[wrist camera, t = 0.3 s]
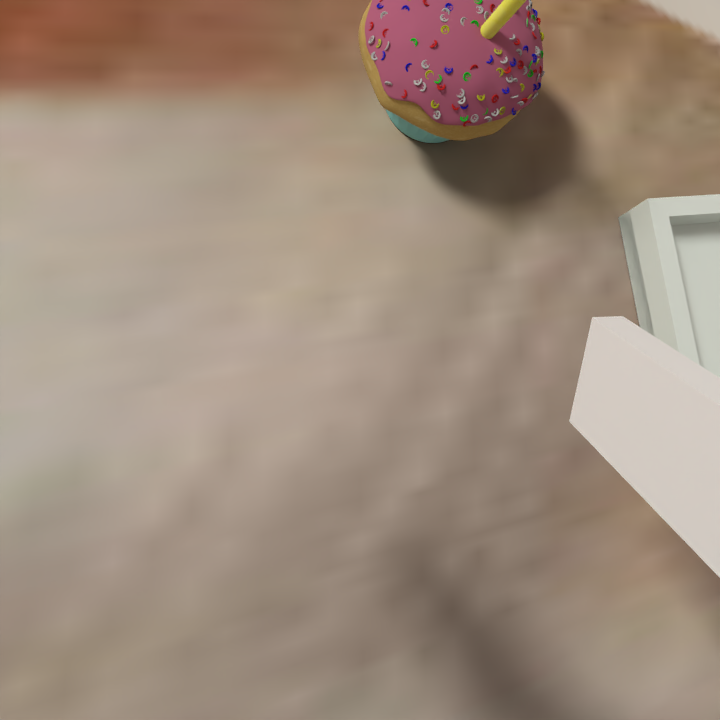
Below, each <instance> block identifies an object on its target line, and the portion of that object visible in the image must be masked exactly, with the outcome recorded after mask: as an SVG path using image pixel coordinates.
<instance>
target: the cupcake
mask: <svg viewBox="0 0 720 720" xmlns="http://www.w3.org/2000/svg"><path fill="white" fill-rule="evenodd" d="M529 1H530V3H529ZM529 1H528V0H371V2H370V3H369V5H368V7H367V9H366V10H365V12H364V14H363V17H362V19H361V23H360V27H359V46H360V51H361V56H362V60H363V63H364V66H365V69H366V72H367V74H368V77H369V79H370V82H371V84H372V86H373V89H374V91H375V94H376V96H377V98H378V100H379V102H380V104H381V105H382V106H383V107H384V108H385V109H386V111H387V114H388V115H389V117H390V119H391V121H392V122H393V123H394V125H395V126H396V127H397V128H398V129H399V130H400V131H401V132H403V133H404V134H405V135H407V136H409V137H411V138H413V139H415V140H418V141H421V142H426V143H439V142H444V141H447V140H461V141H463V140H469V139H473V138H477V137H481V136H487V135H491V134H493V133H495V132H497V131H498V130H500V129H501V128H502V127H503V126H505V125H506V124H507V123H508V122H509V121H510V120H512V119H513V118H514V117H515V116H516V115H517V114H518V113H519V112H520V110H521V109H523V108H524V107H526V106H527V105H529V104H530V103H531V102H532V100H533V99H534V98H535V97H536V96H537V95H538V92H537V91H538V89H539V88H540V86H541V79H542V77H543V75H544V73H545V72H544V71H543V49H542V42H541V41H543V39H544V34H543V33H542V32H540V26H539V24H540V18H537V11H536V10H534V9H532V2H531V0H529ZM536 18H537V19H536ZM538 20H539V23H538ZM537 23H538V24H537ZM540 35H541V36H542V37H541V36H540ZM542 73H543V74H542Z"/></svg>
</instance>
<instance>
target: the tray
mask: <svg viewBox="0 0 720 720" xmlns="http://www.w3.org/2000/svg"><path fill="white" fill-rule="evenodd" d="M618 218H619V223H620V228H621V233H622V238H623V243H624V248H625V253H626V259H627V264H628V269H629V274H630V279H631V284H632V289H633V294H634V299H635V305H636V310H637V315H638V320H639V325H640V328H642V329H643V330H645V331H647V332H648V333H650V334H651V335H653V336H654V337H656V338H658V339H659V340H661V341H662V342H664V343H665V344H667V345H669V346H670V347H672V348H673V349H675V350H676V351H678V352H680V353H681V354H683V355H684V356H686V357H687V358H689V359H691V360H692V361H694V362H695V363H697V364H698V365H700V366H702V367H703V368H705V369H706V370H708V371H709V372H711V373H713V374H714V375H716V376H717V377H719V378H720V194H717V195H700V196H683V197H667V198H650V199H646V200H645V201H643V202H642V203H640V204H639V205H637V206H635V207H634V208H632V209H631V210H629V211H628V212H626V213H625V214H623V215H621V216H620V217H618Z"/></svg>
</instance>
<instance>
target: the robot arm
mask: <svg viewBox="0 0 720 720" xmlns="http://www.w3.org/2000/svg"><path fill="white" fill-rule="evenodd" d="M570 423H571V424H572V425H573V426H574V427H575V428H576V429H577V430H578V431H579V432H580V433H581V434H582V435H583V436H584V437H585V438H586V439H587V440H588V441H589V442H590V443H591V444H592V445H593V446H594V447H595V449H596V450H597V451H598V452H599V453H600V454H601V455H602V456H603V457H604V458H605V459H606V460H607V461H608V462H609V463H610V464H611V465H612V466H613V467H614V468H615V469H616V470H617V471H618V472H619V473H620V475H621V476H622V477H623V478H624V479H625V480H626V481H627V482H628V483H629V484H630V485H631V486H632V487H633V488H634V489H635V490H636V491H637V492H638V493H639V494H640V495H641V496H642V497H643V498H644V499H645V500H646V502H647V503H648V504H649V505H650V506H651V507H652V508H653V509H654V510H655V511H656V512H657V513H658V514H659V515H660V516H661V517H662V518H663V519H664V520H665V521H666V522H667V523H668V524H669V525H670V526H671V528H672V529H673V530H674V531H675V532H676V533H677V534H678V535H679V536H680V537H681V538H682V539H683V540H684V541H685V542H686V543H687V544H688V545H689V546H690V547H691V548H692V549H693V550H694V551H695V552H696V554H697V555H698V556H699V557H700V558H701V559H702V560H703V561H704V562H705V563H706V564H707V565H708V566H709V567H710V568H711V569H712V570H713V571H714V572H715V573H716V574H717V575H718V576H719V577H720V378H719V377H717V376H716V375H714V374H713V373H711V372H709V371H708V370H706V369H705V368H703V367H702V366H700V365H698V364H697V363H695V362H694V361H692V360H691V359H689V358H687V357H686V356H684V355H683V354H681V353H680V352H678V351H676V350H675V349H673V348H672V347H670V346H669V345H667V344H665V343H664V342H662V341H661V340H659V339H658V338H656V337H654V336H653V335H651V334H650V333H648V332H647V331H645V330H643V329H642V328H640V327H639V326H637V325H636V324H634V323H632V322H631V321H629V320H628V319H626V318H624V317H623V316H616V317H592V321H591V326H590V330H589V335H588V339H587V344H586V349H585V353H584V358H583V362H582V367H581V371H580V376H579V380H578V385H577V389H576V394H575V399H574V403H573V408H572V412H571V417H570Z"/></svg>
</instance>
